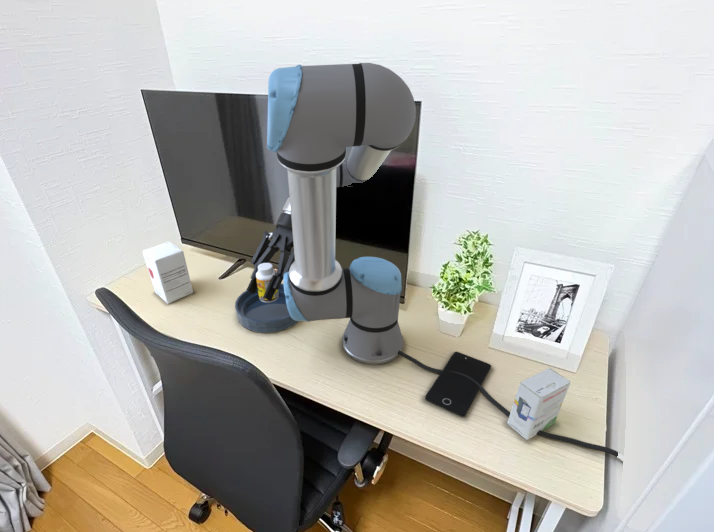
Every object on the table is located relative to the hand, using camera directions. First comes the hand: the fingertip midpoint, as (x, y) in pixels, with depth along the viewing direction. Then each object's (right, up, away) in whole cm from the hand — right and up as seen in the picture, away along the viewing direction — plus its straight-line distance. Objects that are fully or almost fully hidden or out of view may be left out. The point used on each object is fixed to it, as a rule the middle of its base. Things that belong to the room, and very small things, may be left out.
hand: (258, 295), depth 112 cm
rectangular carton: (-29, +1, +18) cm, 34 cm away
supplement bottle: (+2, -1, +4) cm, 5 cm away
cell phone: (+48, -20, -18) cm, 55 cm away
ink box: (+60, -27, -27) cm, 71 cm away
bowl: (+3, -5, +7) cm, 9 cm away
